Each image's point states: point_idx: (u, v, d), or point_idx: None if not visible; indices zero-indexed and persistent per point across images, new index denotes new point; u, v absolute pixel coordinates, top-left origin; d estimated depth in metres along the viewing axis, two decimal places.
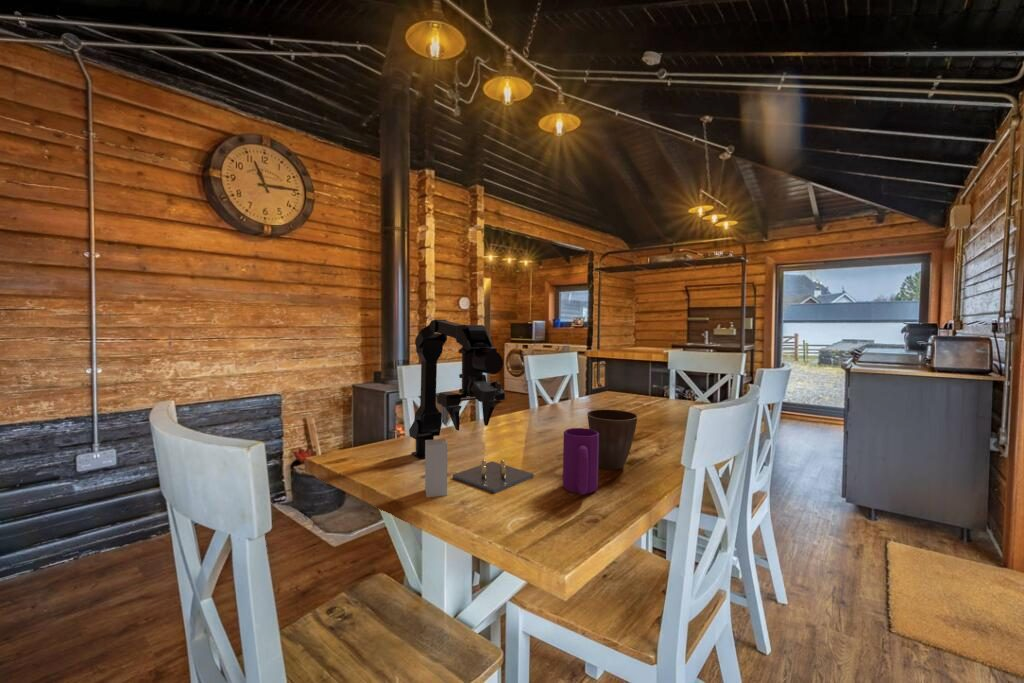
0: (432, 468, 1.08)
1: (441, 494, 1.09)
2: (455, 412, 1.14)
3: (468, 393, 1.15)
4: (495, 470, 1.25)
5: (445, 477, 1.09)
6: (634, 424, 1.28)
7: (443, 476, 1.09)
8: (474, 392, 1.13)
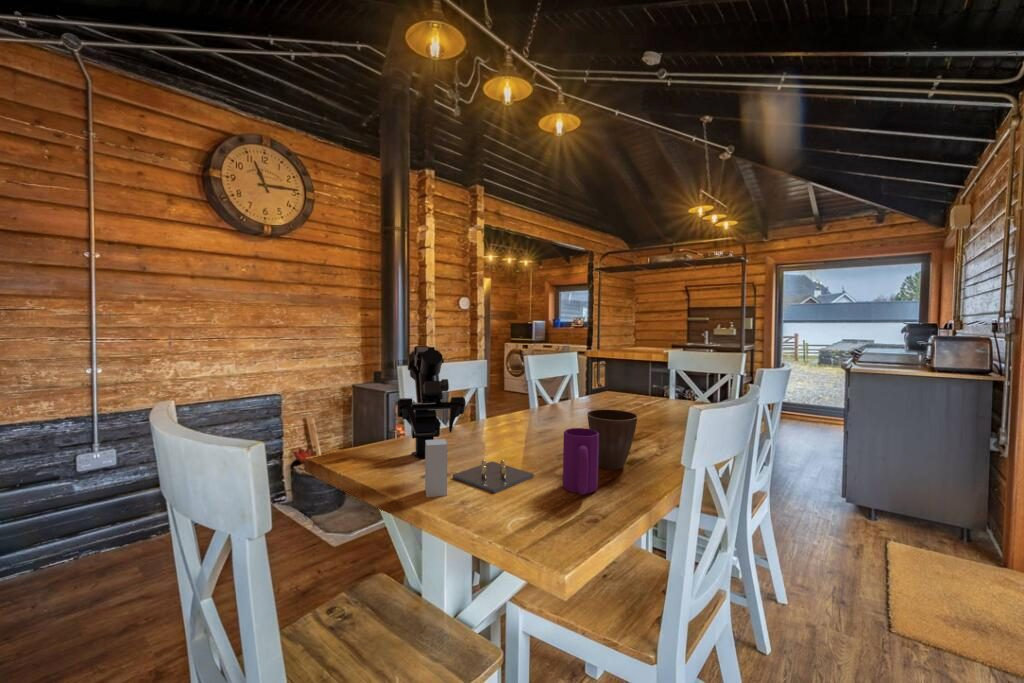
0: (432, 468, 1.08)
1: (441, 494, 1.09)
2: (410, 414, 1.18)
3: (421, 397, 1.22)
4: (495, 470, 1.25)
5: (445, 477, 1.09)
6: (634, 424, 1.28)
7: (443, 476, 1.09)
8: (423, 391, 1.21)
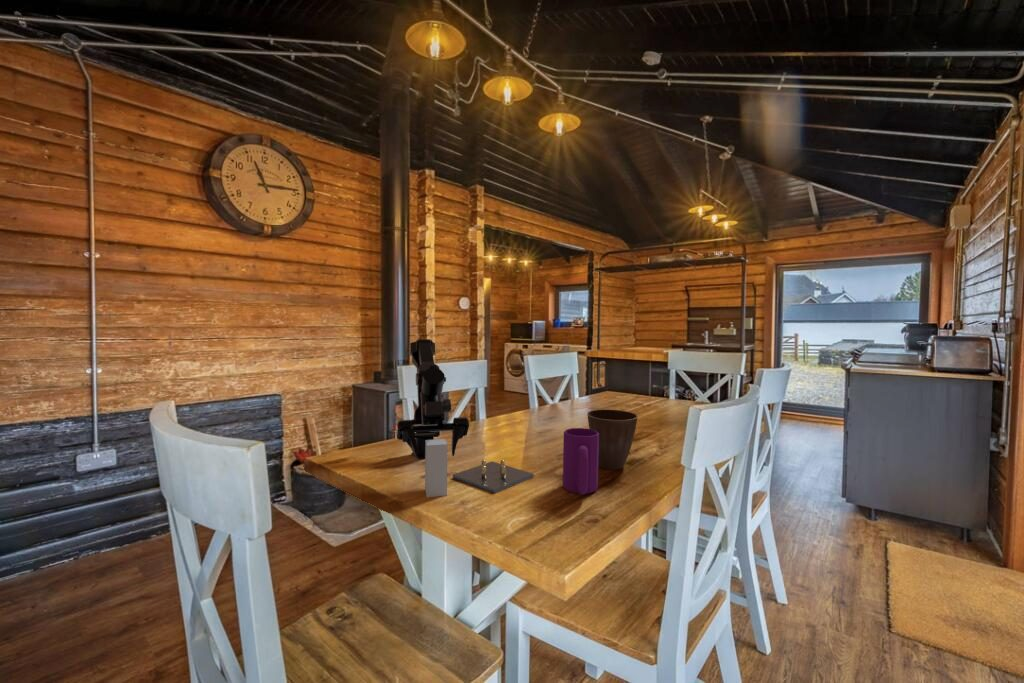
0: (432, 468, 1.08)
1: (441, 494, 1.09)
2: (410, 437, 1.12)
3: (422, 418, 1.15)
4: (495, 470, 1.25)
5: (445, 477, 1.09)
6: (634, 424, 1.28)
7: (443, 476, 1.09)
8: (424, 412, 1.14)
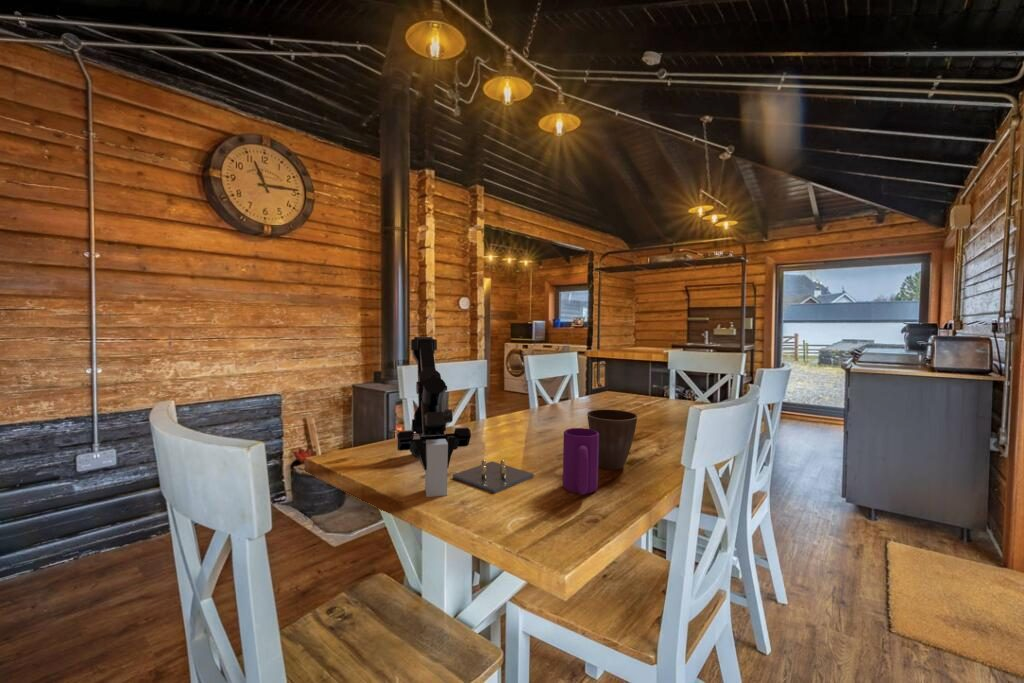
0: (432, 468, 1.08)
1: (441, 494, 1.09)
2: (418, 448, 1.10)
3: (423, 428, 1.13)
4: (495, 470, 1.25)
5: (445, 477, 1.09)
6: (634, 424, 1.28)
7: (443, 476, 1.09)
8: (425, 422, 1.12)
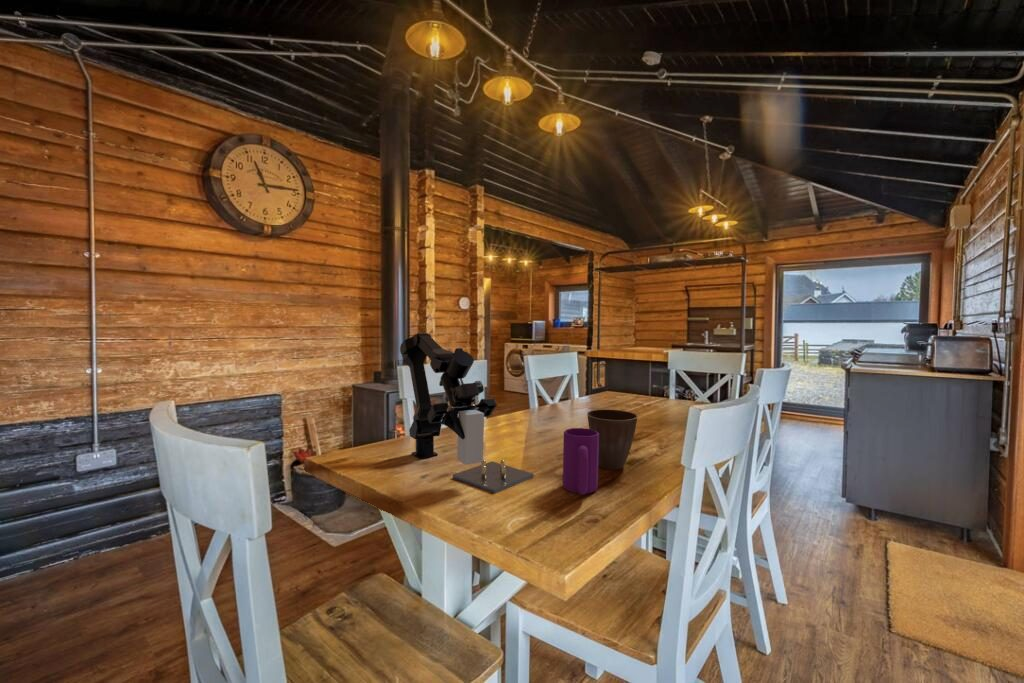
0: (471, 437, 1.12)
1: (478, 461, 1.14)
2: (454, 418, 1.13)
3: (454, 400, 1.16)
4: (495, 470, 1.25)
5: (481, 445, 1.14)
6: (634, 424, 1.28)
7: (480, 444, 1.14)
8: (458, 394, 1.15)
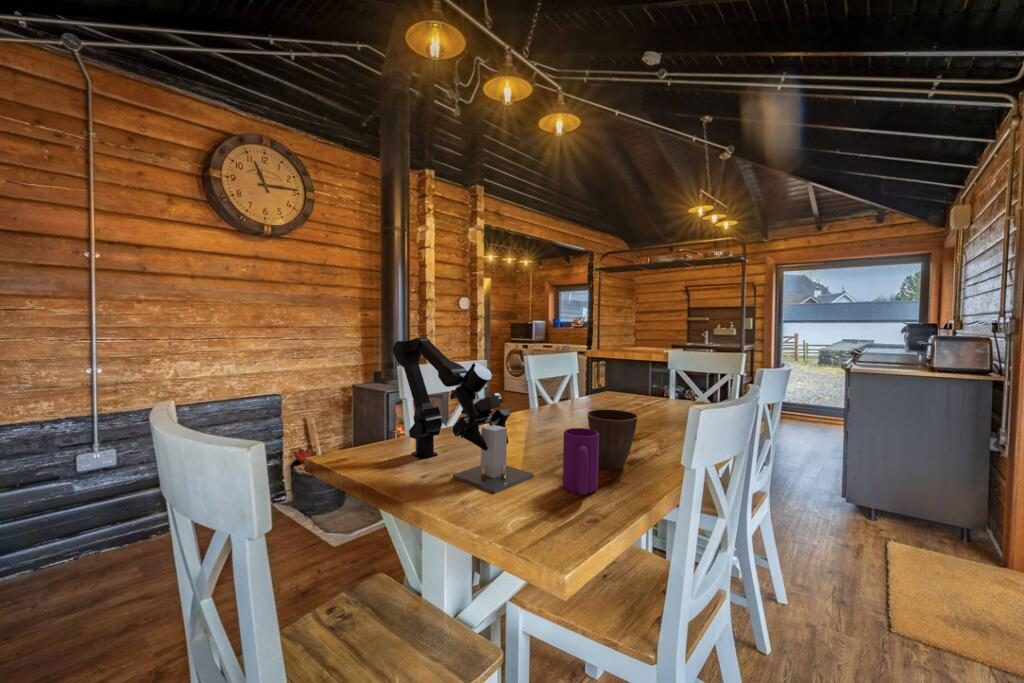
0: (497, 451, 1.19)
1: None
2: (476, 431, 1.18)
3: (477, 413, 1.21)
4: None
5: (505, 458, 1.22)
6: (634, 424, 1.28)
7: (504, 457, 1.21)
8: (481, 407, 1.21)
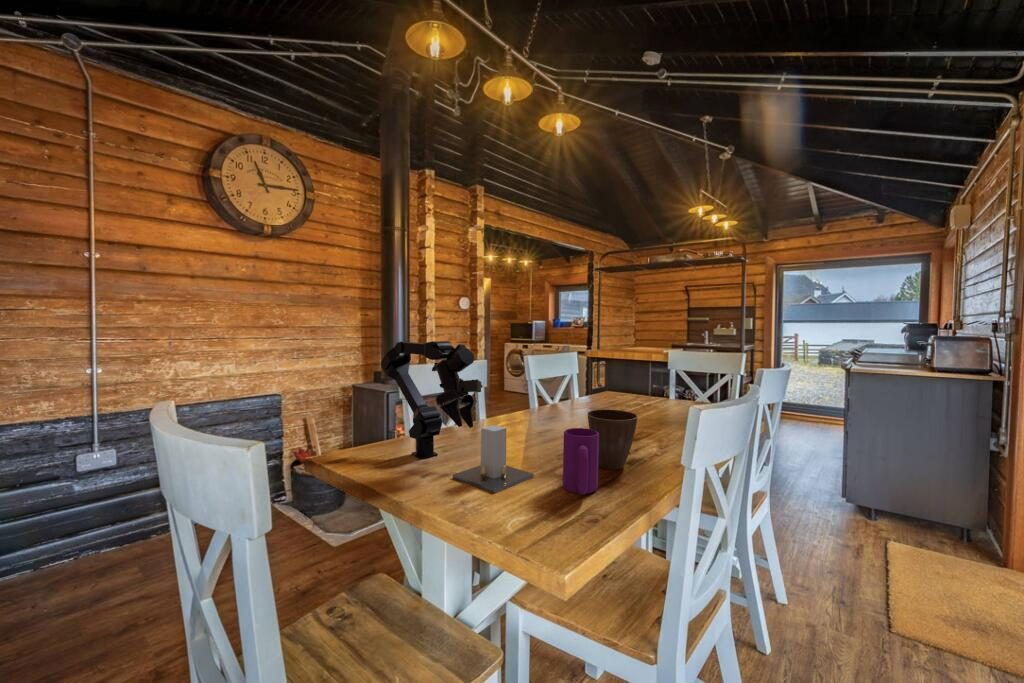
0: (497, 451, 1.19)
1: None
2: (457, 407, 1.24)
3: (459, 391, 1.28)
4: None
5: (505, 458, 1.22)
6: (634, 424, 1.28)
7: (503, 457, 1.21)
8: (466, 386, 1.28)
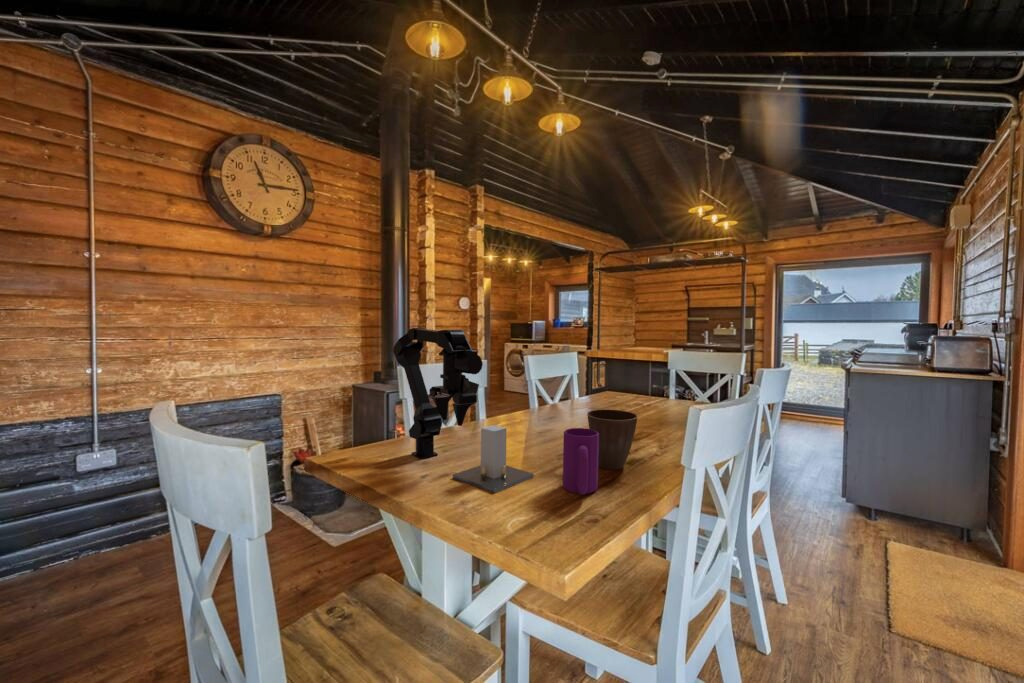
0: (497, 451, 1.19)
1: None
2: None
3: (465, 390, 1.30)
4: None
5: (505, 458, 1.22)
6: (634, 424, 1.28)
7: (503, 457, 1.21)
8: (470, 387, 1.32)
